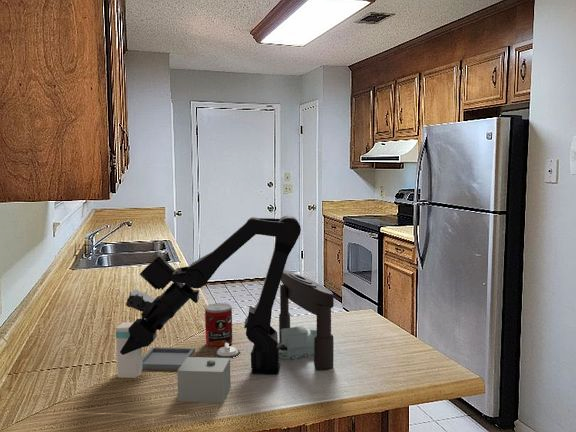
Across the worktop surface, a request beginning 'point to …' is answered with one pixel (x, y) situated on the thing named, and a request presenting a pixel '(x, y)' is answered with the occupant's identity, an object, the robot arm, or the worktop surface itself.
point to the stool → (298, 338)
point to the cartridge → (131, 361)
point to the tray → (166, 358)
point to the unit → (204, 379)
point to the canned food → (218, 324)
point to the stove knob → (227, 352)
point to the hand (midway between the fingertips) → (126, 346)
